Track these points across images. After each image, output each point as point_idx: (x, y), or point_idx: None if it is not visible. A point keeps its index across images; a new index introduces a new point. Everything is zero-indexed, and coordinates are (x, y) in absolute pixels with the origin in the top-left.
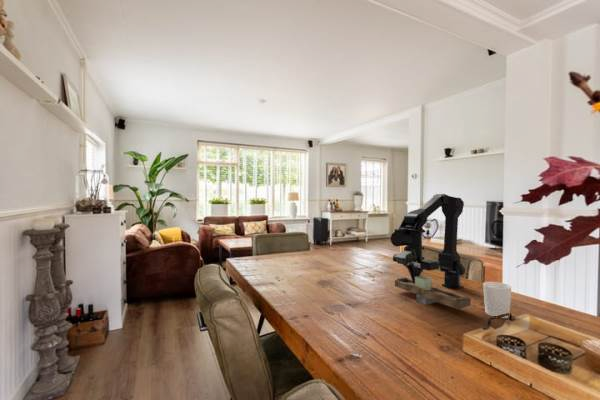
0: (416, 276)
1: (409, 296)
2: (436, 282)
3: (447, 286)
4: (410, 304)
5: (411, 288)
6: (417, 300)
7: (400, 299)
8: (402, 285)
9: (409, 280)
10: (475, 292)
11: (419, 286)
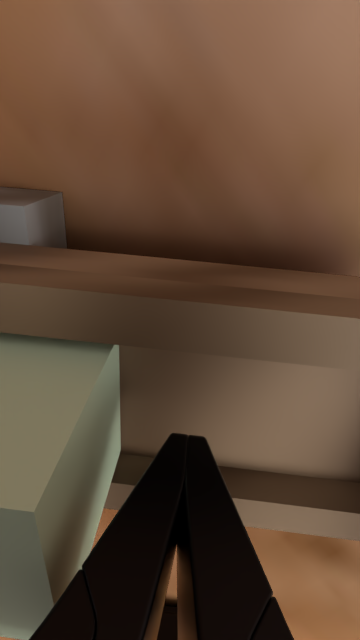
0: (37, 545)
1: None
2: None
3: (172, 612)
4: (18, 23)
5: (139, 278)
6: (37, 192)
7: (225, 68)
8: (345, 296)
9: (351, 503)
10: None
11: (6, 351)
